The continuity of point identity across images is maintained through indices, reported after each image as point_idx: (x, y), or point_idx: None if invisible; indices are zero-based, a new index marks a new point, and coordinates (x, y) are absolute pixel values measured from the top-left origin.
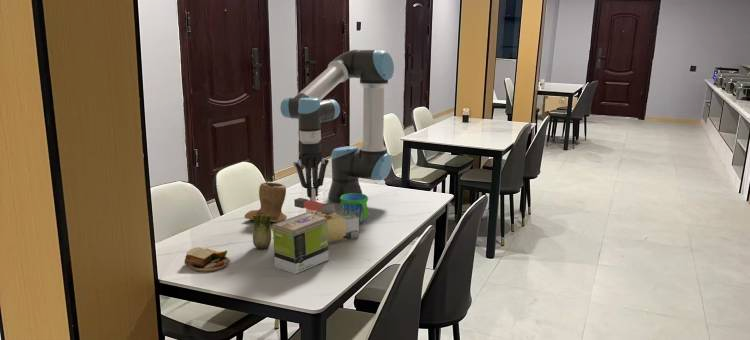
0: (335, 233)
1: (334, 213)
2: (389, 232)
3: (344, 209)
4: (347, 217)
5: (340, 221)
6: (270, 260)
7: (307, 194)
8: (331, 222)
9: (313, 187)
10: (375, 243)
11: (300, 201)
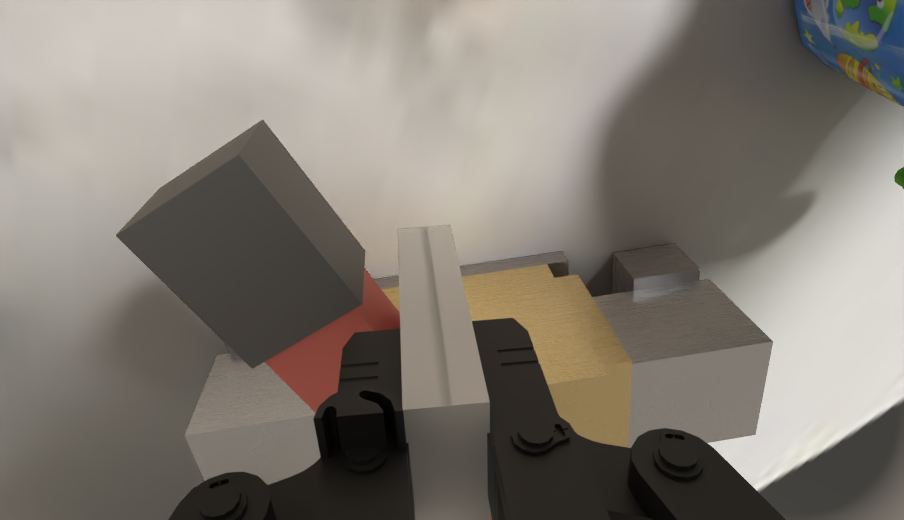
0: None
1: (589, 412)
2: (890, 315)
3: (872, 14)
4: (679, 407)
5: None
6: (27, 506)
7: (343, 376)
8: None
9: (487, 455)
10: None
11: (221, 333)
